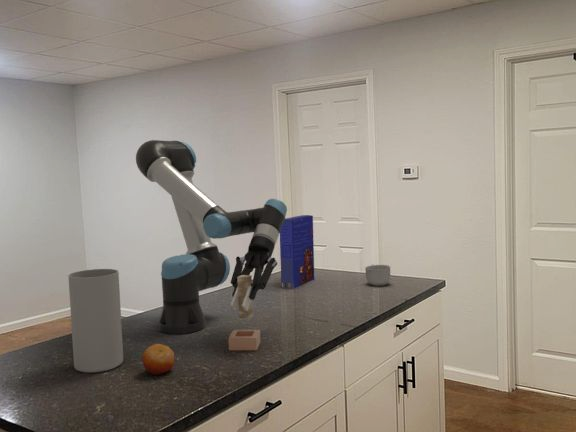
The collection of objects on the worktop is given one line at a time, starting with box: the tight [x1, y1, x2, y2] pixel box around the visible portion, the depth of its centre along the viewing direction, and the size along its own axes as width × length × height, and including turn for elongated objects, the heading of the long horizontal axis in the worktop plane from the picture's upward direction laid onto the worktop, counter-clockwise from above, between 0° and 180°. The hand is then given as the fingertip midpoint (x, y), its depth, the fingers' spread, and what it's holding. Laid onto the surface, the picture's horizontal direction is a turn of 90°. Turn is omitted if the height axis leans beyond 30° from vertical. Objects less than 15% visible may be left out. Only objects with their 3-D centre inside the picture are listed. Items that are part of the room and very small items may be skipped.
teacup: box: [364, 264, 391, 287], centre depth 240 cm, size 14×11×8 cm
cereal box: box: [279, 214, 315, 290], centre depth 245 cm, size 22×6×30 cm, turn 153°
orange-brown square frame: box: [228, 329, 261, 351], centre depth 159 cm, size 8×8×4 cm
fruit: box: [141, 343, 175, 376], centre depth 140 cm, size 8×8×8 cm
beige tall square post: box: [237, 275, 254, 320], centre depth 158 cm, size 3×3×12 cm
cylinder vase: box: [68, 268, 124, 374], centre depth 145 cm, size 12×12×25 cm
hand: (239, 307), depth 154 cm, fingers closed on beige tall square post, 3 cm apart
